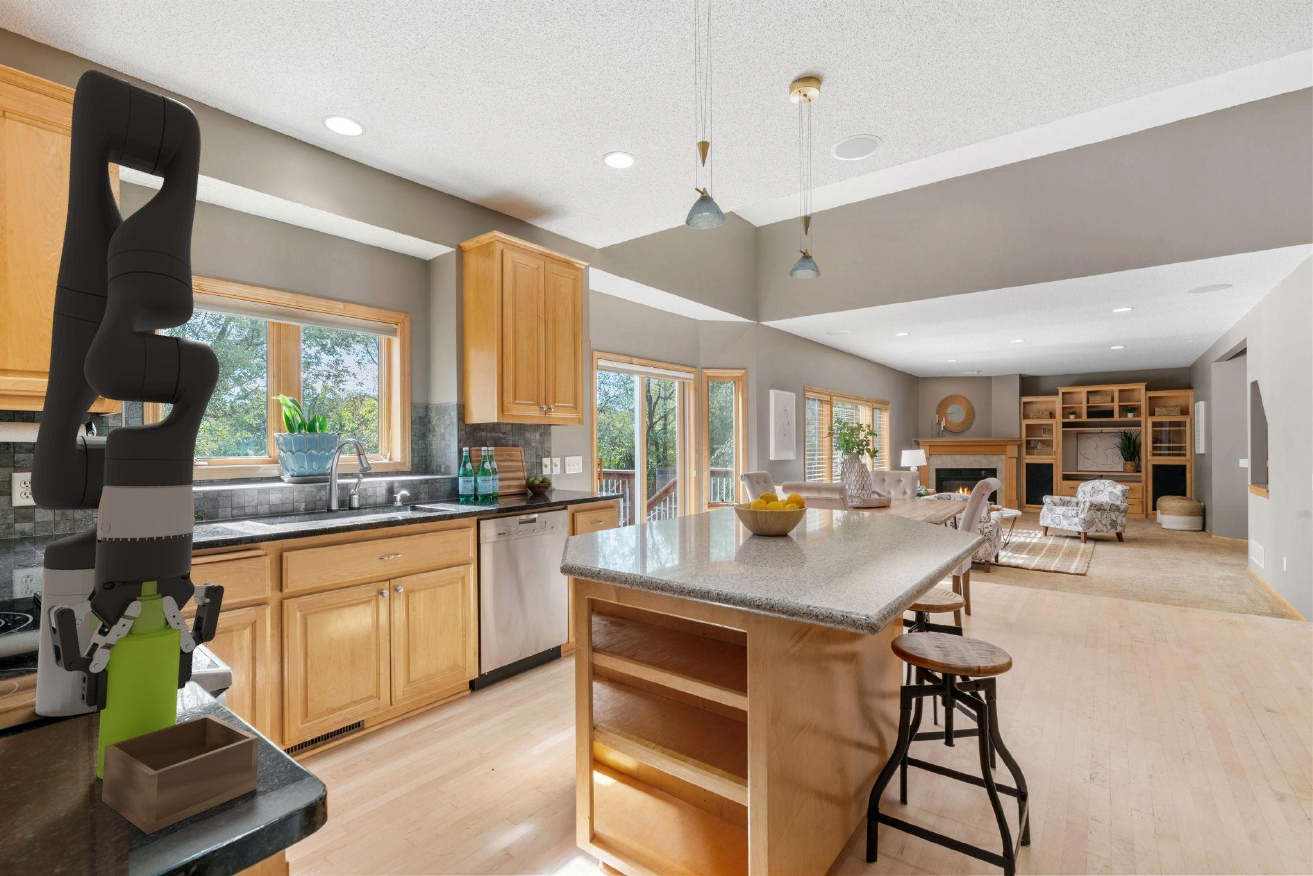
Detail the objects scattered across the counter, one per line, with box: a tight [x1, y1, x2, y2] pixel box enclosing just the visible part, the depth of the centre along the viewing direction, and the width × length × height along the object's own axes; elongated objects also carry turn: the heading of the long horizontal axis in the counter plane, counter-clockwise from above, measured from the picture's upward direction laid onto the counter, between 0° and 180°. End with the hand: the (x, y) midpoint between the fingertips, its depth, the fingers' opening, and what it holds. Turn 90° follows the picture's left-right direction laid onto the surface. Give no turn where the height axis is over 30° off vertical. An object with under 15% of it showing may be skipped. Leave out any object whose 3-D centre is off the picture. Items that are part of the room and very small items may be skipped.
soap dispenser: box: [96, 581, 181, 780], centre depth 62 cm, size 6×7×20 cm
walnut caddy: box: [101, 714, 260, 835], centre depth 57 cm, size 9×8×5 cm
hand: (138, 697), depth 62 cm, fingers closed on soap dispenser, 6 cm apart
